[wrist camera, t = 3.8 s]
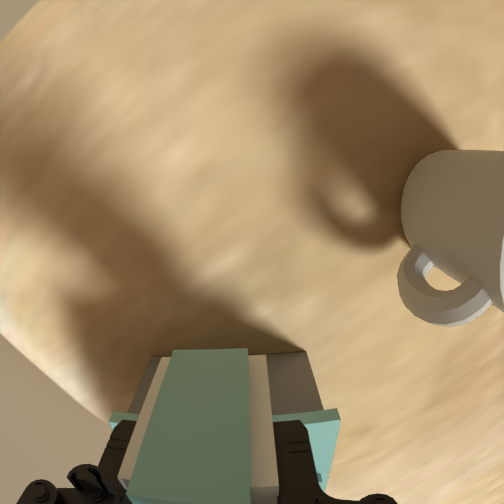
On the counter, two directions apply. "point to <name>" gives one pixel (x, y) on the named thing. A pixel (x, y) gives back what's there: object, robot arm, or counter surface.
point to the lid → (210, 433)
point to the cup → (454, 235)
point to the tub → (280, 384)
